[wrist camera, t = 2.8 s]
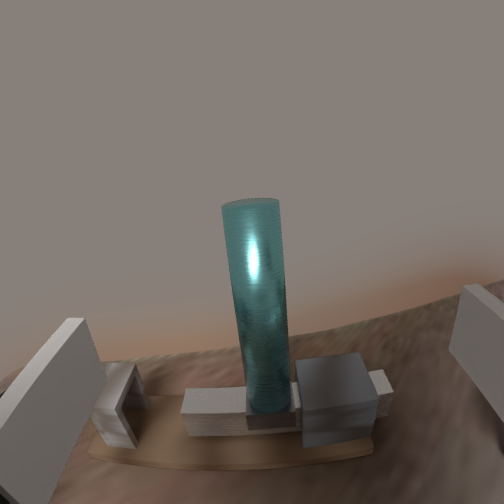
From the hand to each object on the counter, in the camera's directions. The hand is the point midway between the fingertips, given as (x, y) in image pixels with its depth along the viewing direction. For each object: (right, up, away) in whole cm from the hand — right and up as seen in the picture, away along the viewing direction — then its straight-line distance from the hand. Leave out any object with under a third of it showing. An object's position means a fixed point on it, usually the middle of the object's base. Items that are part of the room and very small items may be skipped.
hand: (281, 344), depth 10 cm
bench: (-3, -14, +17) cm, 22 cm away
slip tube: (+2, -12, +16) cm, 21 cm away
